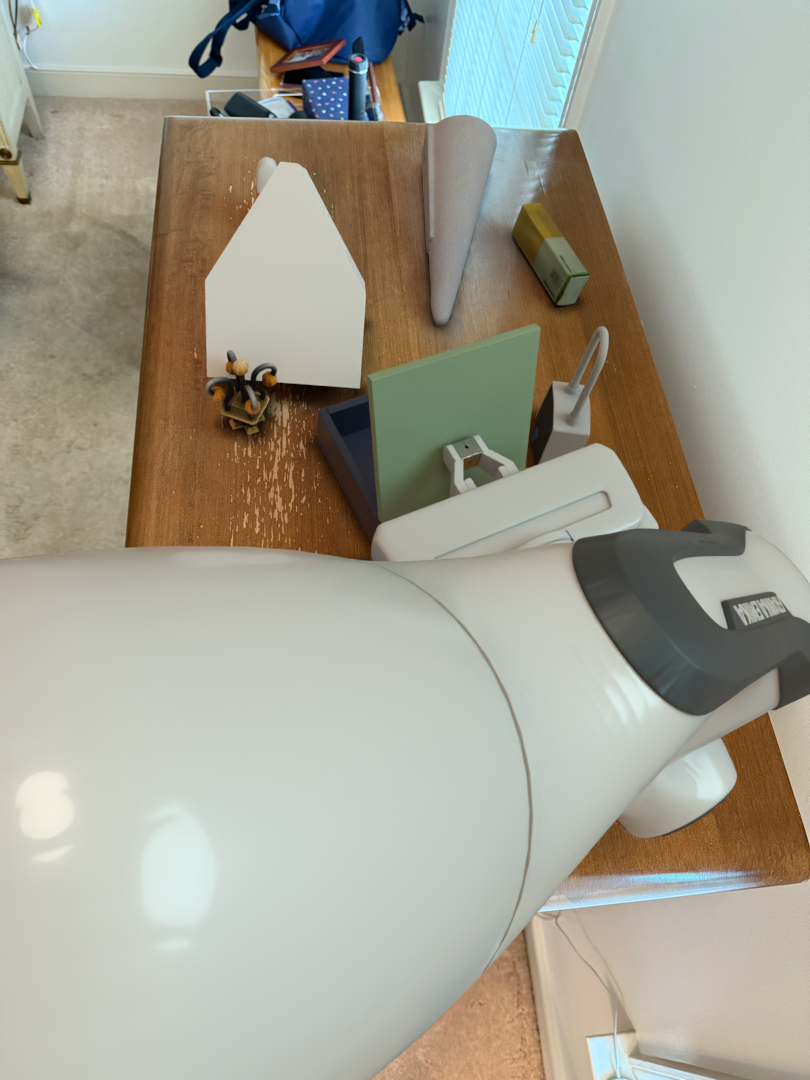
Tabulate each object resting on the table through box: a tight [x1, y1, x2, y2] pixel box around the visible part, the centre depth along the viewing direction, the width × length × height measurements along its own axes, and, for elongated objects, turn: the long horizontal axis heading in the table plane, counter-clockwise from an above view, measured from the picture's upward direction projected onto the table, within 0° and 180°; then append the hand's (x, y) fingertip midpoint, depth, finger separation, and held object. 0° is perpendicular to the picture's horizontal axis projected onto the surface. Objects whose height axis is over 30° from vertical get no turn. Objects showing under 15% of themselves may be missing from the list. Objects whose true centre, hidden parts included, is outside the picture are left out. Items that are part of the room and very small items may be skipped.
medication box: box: [511, 202, 590, 307], centre depth 81 cm, size 12×3×4 cm, turn 22°
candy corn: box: [255, 156, 278, 199], centre depth 78 cm, size 6×3×8 cm, turn 3°
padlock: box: [530, 325, 610, 466], centre depth 65 cm, size 7×4×15 cm, turn 175°
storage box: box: [316, 393, 382, 545], centre depth 66 cm, size 13×14×5 cm
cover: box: [366, 322, 542, 523], centre depth 56 cm, size 14×14×1 cm
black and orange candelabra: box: [205, 350, 278, 436], centre depth 65 cm, size 5×5×8 cm
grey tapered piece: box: [421, 114, 498, 326], centre depth 81 cm, size 8×9×26 cm
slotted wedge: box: [204, 161, 367, 389], centre depth 69 cm, size 14×11×18 cm
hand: (459, 444), depth 56 cm, fingers closed, pressing on cover
